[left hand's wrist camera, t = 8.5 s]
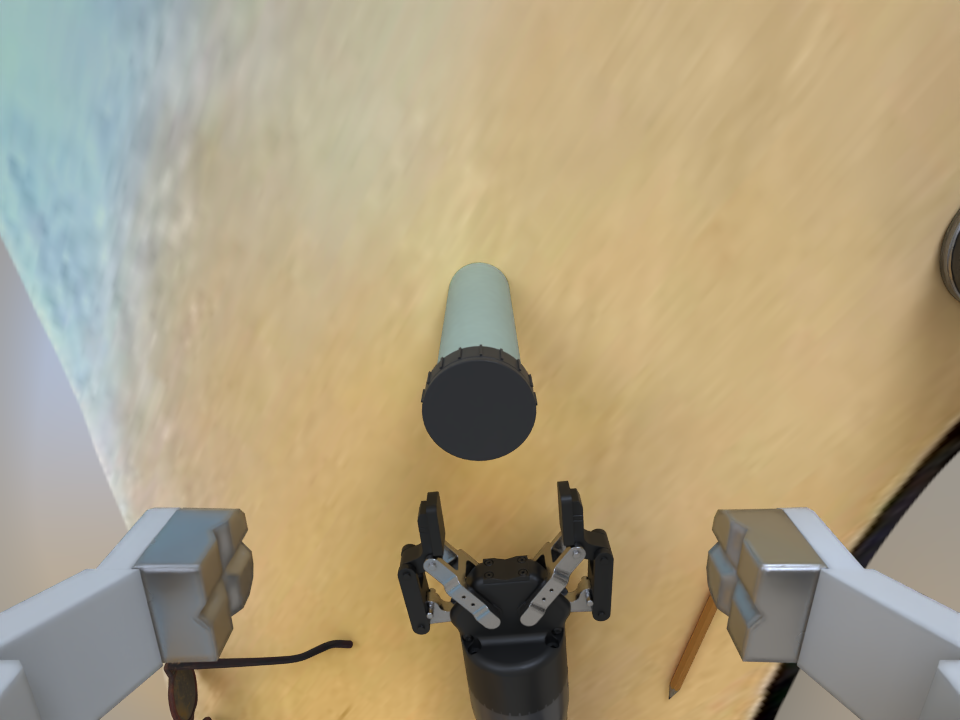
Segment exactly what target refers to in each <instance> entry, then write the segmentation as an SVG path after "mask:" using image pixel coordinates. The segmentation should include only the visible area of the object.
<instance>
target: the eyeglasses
mask: <svg viewBox="0 0 960 720" xmlns="http://www.w3.org/2000/svg"><path fill="white" fill-rule="evenodd" d="M352 646H353V642H352V641H347V640H333V641H329V642H326V643H323V644H321V645H319V646H317V647H315V648H313V649H311V650H309V651H306V652H304V653H302V654H298V655H293V656H282V657H264V658H230V659H218V661H211V662H177V663H166V664H165V666H164V671H165V673H166V674H167V676H168V677H169V687H168V700H169V707H170V711H171V715H172V717H173V720H194V712H195V709H196V706H197V700H198V694H197V682H196V676H195V672H194V669H211V668H229V667H245V666H260V665H274V664H287V663H294V662H299V661H303V660H306V659H308V658H310V657H313V656H315V655H317V654H319V653H321V652H323V651H326V650H328V649H331V648H351V647H352ZM203 720H211V718H210V717H205V718H204V719H203Z"/></svg>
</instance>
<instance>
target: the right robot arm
mask: <svg viewBox="0 0 960 720" xmlns="http://www.w3.org/2000/svg"><path fill="white" fill-rule="evenodd" d="M940 270H941V275H942V278H943V281H944V284H945V286H946V287H947V289H948V291H949V292H950V293H951V294H952V296H953V297H955V298H956V299H957V300H958V301H960V210H959V211H958V212H957V214H956V215H955V217H954V218H953V220H952V222H951V224H950V225H949V227H948V230H947V232H946V234H945V237H944V240H943V243H942V247H941V253H940ZM557 488H558V504H559V520H560V528H561V531H560V532H559V534H558V535H557V536H556V537H555V539H554V540H553V541H552V542H551V543H550V542H547V543H546V544H545V545H544V546H543V547H542V549H541V550H540V551H539V552H538V554H537V555H536V556H535V557H534V558H533V560H531V559H528V558H527V556H516V557H513V558H509V559H505V560H504V559H496V558H490V559H483V563H480V564H479V563H478V562H477V561H475V560H474V559H473V558H472V557H471V556H469V555H468V554H467V553H466V552H465V551H463V550H462V549H459V550H456V549H455V548H454V547H452V546H451V545H450V544H449V543H448V542H446V541H445V528H444V522H443V515H442V509H441V503H440V496H439V492H428V494H427V501H421V504H420V507H419V514H418V527H419V532H420V538H421V544H419V545H413V544H407V545H405V546H404V547H403V548H402V552H401V563H400V567H399V570H398V579H399V582H400V586H401V590H402V593H403V597H404V600H405V604H406V607H407V611H408V614H409V618H410V621H411V625H412V629H413V631H414V632H415V633H417V634H421V635H422V634H426V633H428V632H429V630H430V624H433V623H441V622H449V621H451V622H452V623H453V624H454V625H455V626H456V627H457V629H458V630H459V632H460V636H461V642H462V649H463V655H464V661H465V668H466V674H467V681H468V687H469V693H470V699H471V705H472V709H473V712H474V715H475V718H476V720H567V709H568V702H569V685H568V667H567V654H566V638H565V621H566V619H567V618H568V616H569V614H570V612H585V611H592V614H593V618H594V619H595V620H597V621H605V620H607V619H608V618H609V617H610V612H611V595H612V578H613V561H614V559H613V555H612V552H611V548H610V545H609V541H608V538H607V534H606V532H605V531H604V530H602V529H595V530H593V531H587V530H585V529H584V524H583V506H582V502H581V498H580V494H579V493H578V491H577V489H576V488H574V489H570V488H569V483H568V481H560V482H557ZM583 559H588V577H587V576H583V577H582V578H581V580H582V581H581V582H580V583H579V584H578V587H577V589H576V590H575V591H573V592H569V593H568V591H567V589H566V588H565V587H566V585H567V583H568V581H569V576H570V574H571V573H572V572H573V571H574V569H575V568H576V567H577V566H578V565H579V564H580V562H581V561H582V560H583ZM425 571H426V572H428V573H429V574H430V575H431V576H433V577H434V578H435V579H436V580H438V581H439V582H440V583H441V584H443V586H444V588H445V591H446V593H447V594H448V595H449V596H450V597H452V598H451V602H445V601H443V600H442V599H441V598H440V596H439V595H438V594H437V593H436V590H435V589H434V588H431V589H429V587H428V583H427V579H426V575H425Z"/></svg>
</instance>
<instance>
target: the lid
mask: <svg viewBox="0 0 960 720" xmlns="http://www.w3.org/2000/svg"><path fill="white" fill-rule="evenodd" d="M421 402H423V404H422V416H423V421H424V425H425V427H426V430H427V432H428V433H429V435H430V437H431V438H432V439H433V441H434V442H435V443H436V444H437V445H438V446H439V447H441V448H442V449H443V450H445V451H446V452H448V453H450V454H452V455H454V456H456V457H459V458H462V459H466V460H473V461H486V460H492V459H496V458H500V457H502V456H505V455H507V454H509V453H510V452H512V451H514V450H515V449H516V448H518V447H519V446H520V445H521V444H522V443H523V442H524V441H525V440H526V438H527V437H528V435H529V434H530V432H531V430H532V428H533V426H534V422H535V418H536V405H537V399H536V394H535V392H534V391H533V383H532V377H531V374H529V375H528V373H527V371H526V369H525V368H524V367H523V365H522V364H521V363H520V360H519V359H515V358H514V357H513V356H511V355H510V354H508V353H506V352H504V351H503V349H501V348H500V350H499V349H496V348H492V347H487V346H482V344H480V346H472V347H466V348H461V347H460V348H459V350H457V351H454V352H452V353H450V354H449V355H447V356H445V357H444V358H443V357H441V359H440V361H439V363H438V364H437V365H436V366H435V367H434V368H433V370H432V371H431V372H430V371H429V373H428V378H427V383H426V388H425V389H423V394H422V399H421Z"/></svg>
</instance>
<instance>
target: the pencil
mask: <svg viewBox="0 0 960 720" xmlns="http://www.w3.org/2000/svg"><path fill="white" fill-rule="evenodd" d="M716 610H717V608H716V605H715V603H714V601H713V599H712V597H711V594H710V596H709V598H708V601H707V603H706V605H705V607H704V609H703V612H702V614H701V616H700V618H699V620H698V623H697V625H696V627H695V629H694V632H693V634H692V636H691V638H690V640H689V643H688V645H687V647H686V649H685V651H684V654H683V656H682V658H681V660H680V662H679V665H678V667H677V669H676V671H675V674H674V676H673V678H672V680H671V683H670V689H669V699H670V698H671V697H672V696H673V695H675V694H676V693H677V692H678V691H679V690H680V688H681V686H682V683H683V681H684V679H685V677H686V675H687V673H688V671H689V668H690V666H691V664H692V662H693V660H694V658H695V655H696V653H697V651H698V649H699V647H700V645H701V642H702V640H703V638H704V636H705V634H706V632H707V630H708V627H709V625H710V623H711V621H712V619H713V617H714V614H715V612H716Z"/></svg>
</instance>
